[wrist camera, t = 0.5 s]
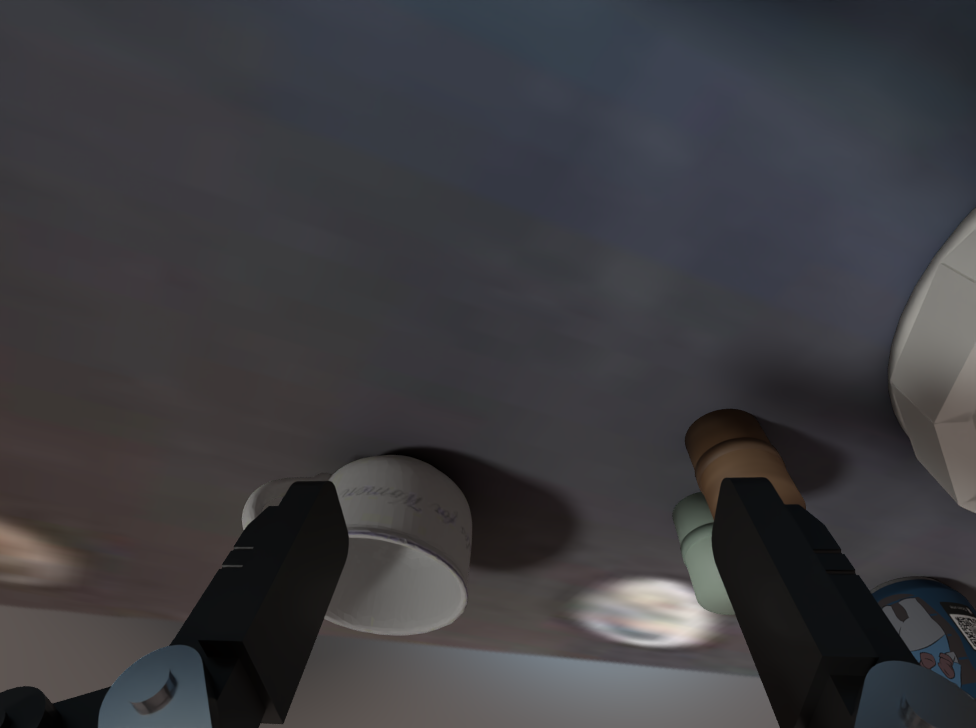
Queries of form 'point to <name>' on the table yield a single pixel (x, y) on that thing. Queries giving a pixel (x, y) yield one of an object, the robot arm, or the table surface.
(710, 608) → the sage bead
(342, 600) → the teacup
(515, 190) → the table surface
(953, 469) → the ring tray
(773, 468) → the walnut bead
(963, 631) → the soda can
